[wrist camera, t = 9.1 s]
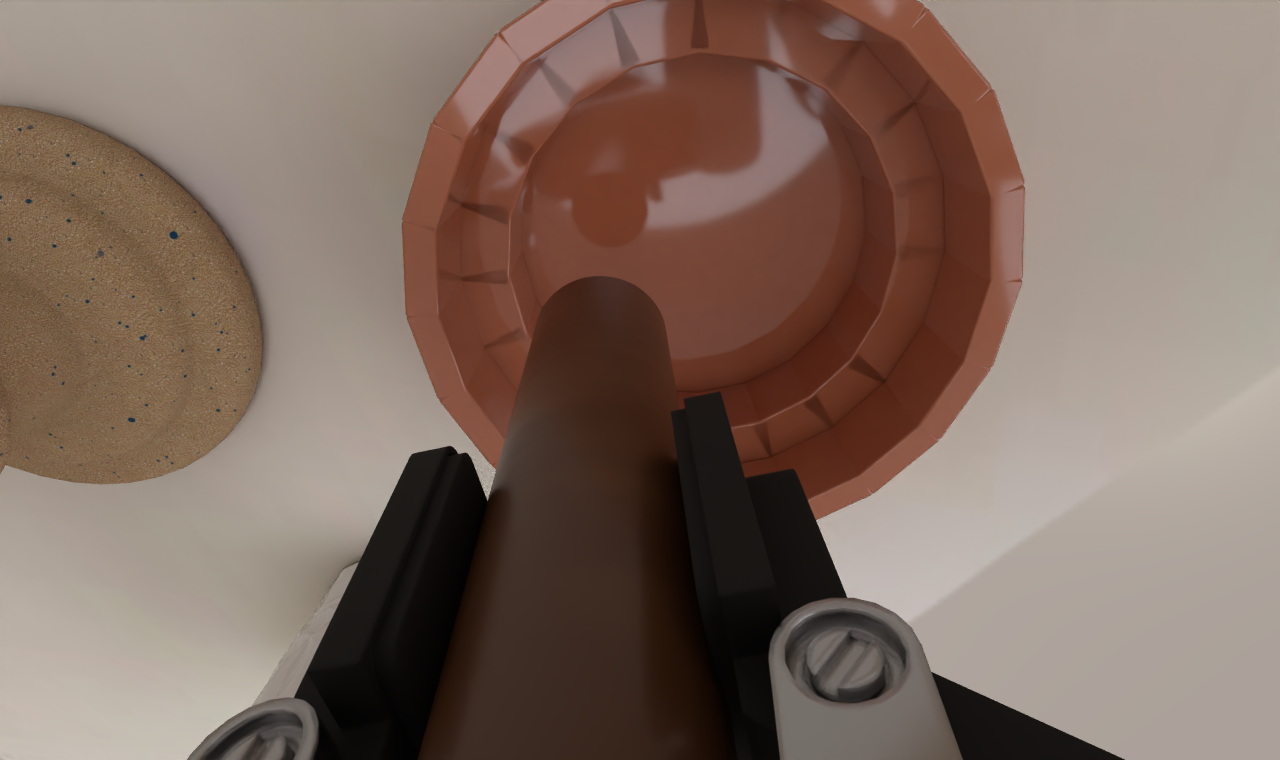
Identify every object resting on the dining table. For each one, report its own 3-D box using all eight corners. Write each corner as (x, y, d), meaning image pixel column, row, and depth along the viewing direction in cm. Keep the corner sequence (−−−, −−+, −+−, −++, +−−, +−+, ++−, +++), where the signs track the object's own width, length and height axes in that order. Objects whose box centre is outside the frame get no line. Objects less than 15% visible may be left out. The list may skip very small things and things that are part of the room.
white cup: (276, 562, 28) (110, 817, 19) (466, 517, 27) (389, 760, 18) (362, 698, 31) (257, 969, 22) (534, 662, 30) (496, 927, 21)
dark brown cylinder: (651, 261, 16) (731, 778, 5) (677, 381, 17) (785, 999, 6) (519, 290, 16) (310, 849, 5) (554, 406, 17) (450, 1047, 6)
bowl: (916, -95, 19) (1035, -144, 13) (933, 390, 25) (1018, 489, 20) (386, 35, 20) (297, 38, 14) (531, 468, 26) (507, 582, 21)
